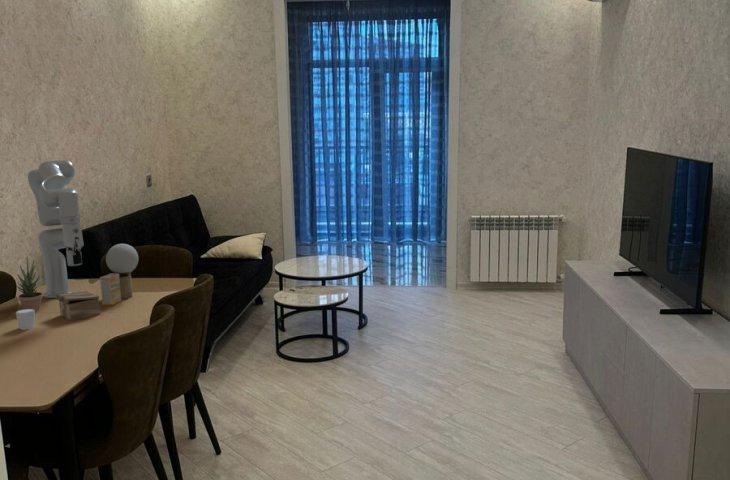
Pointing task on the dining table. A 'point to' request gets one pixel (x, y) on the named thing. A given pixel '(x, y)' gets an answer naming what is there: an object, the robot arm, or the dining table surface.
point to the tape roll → (71, 258)
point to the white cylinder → (26, 318)
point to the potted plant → (29, 290)
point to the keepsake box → (80, 309)
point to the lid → (75, 296)
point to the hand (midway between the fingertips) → (74, 262)
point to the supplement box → (110, 289)
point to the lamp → (123, 266)
